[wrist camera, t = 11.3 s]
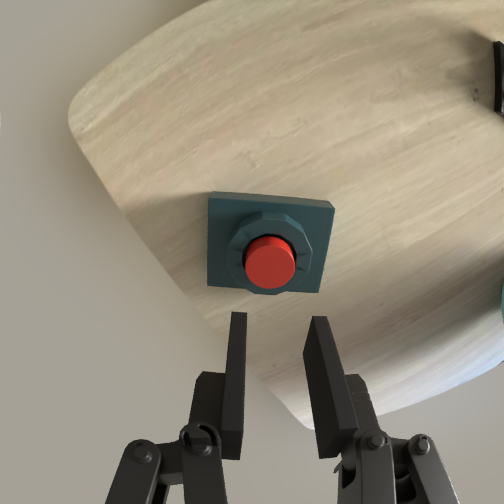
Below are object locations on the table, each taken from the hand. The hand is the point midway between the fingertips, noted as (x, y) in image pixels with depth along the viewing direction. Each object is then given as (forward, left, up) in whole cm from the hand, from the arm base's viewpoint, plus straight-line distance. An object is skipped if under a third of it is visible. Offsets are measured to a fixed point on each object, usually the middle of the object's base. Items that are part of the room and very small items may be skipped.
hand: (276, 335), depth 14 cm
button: (0, 0, -9) cm, 9 cm away
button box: (0, 0, -13) cm, 13 cm away
